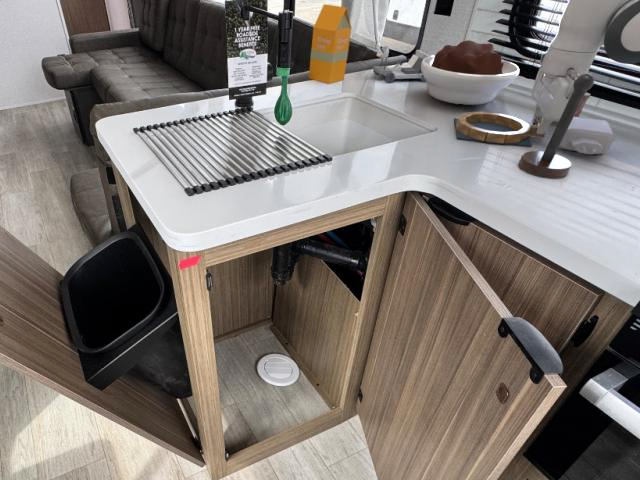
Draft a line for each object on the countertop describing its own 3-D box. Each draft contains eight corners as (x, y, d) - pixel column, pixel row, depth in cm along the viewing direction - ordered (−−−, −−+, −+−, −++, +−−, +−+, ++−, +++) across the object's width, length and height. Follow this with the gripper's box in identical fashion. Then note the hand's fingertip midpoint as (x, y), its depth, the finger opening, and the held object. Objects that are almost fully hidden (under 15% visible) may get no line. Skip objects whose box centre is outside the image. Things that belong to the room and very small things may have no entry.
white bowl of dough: (456, 84, 137) (473, 29, 127) (526, 107, 120) (551, 45, 110) (394, 94, 129) (407, 36, 119) (459, 120, 112) (481, 54, 102)
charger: (558, 158, 94) (554, 135, 104) (608, 166, 91) (598, 141, 101) (569, 136, 91) (563, 115, 101) (622, 144, 88) (610, 121, 98)
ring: (536, 125, 108) (540, 117, 107) (549, 148, 97) (554, 139, 96) (454, 117, 112) (457, 109, 111) (457, 138, 101) (460, 129, 100)
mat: (521, 126, 109) (522, 124, 108) (531, 147, 99) (532, 145, 98) (453, 120, 112) (454, 118, 112) (456, 139, 102) (457, 137, 102)
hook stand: (561, 163, 92) (608, 70, 80) (571, 181, 86) (625, 82, 74) (515, 157, 94) (554, 66, 82) (521, 175, 88) (565, 78, 76)
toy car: (383, 48, 132) (370, 40, 140) (377, 83, 138) (364, 74, 147) (439, 47, 133) (423, 39, 142) (430, 81, 140) (415, 72, 148)
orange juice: (323, 74, 146) (331, 3, 133) (344, 79, 141) (355, 6, 128) (308, 78, 142) (315, 5, 129) (329, 84, 137) (338, 8, 124)
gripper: (597, 76, 85) (562, 146, 94) (571, 54, 99) (543, 116, 108) (561, 74, 86) (530, 143, 95) (541, 52, 101) (516, 113, 110)
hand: (537, 128), depth 102 cm, fingers open, 4 cm apart
